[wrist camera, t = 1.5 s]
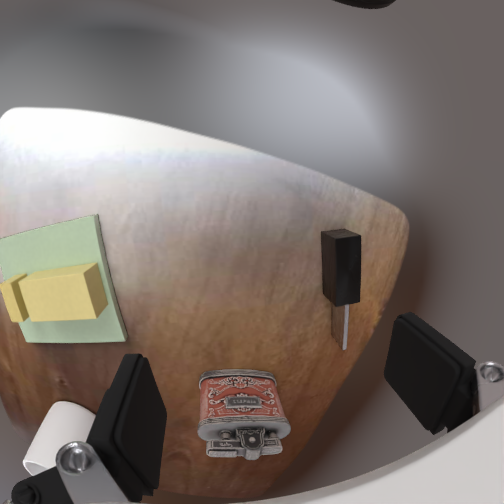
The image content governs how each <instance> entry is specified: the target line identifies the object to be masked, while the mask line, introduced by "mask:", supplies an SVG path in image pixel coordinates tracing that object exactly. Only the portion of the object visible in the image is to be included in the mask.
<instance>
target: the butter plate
mask: <svg viewBox="0 0 504 504" xmlns="http://www.w3.org/2000/svg"><path fill="white" fill-rule="evenodd" d="M96 262H97V263H98V268H99V272H100V276H101V280H102V283H103V287H104V291H105V294H106V298H107V301H108V305H107V306H106V308H105V309H104V310H103V311H102V313H101V314H100V315H99V317H98V318H97V319H86V320H68V321H43V322H32V321H31V319H30V317H29V318H28V319H26V320H25V321H24V322H19V325H20V327H21V330H22V332H23V335H24V337H25V339H26V342H36V343H95V342H120V341H126V339H127V337H128V335H127V332H126V329H125V326H124V323H123V320H122V316H121V313H120V310H119V306H118V303H117V299H116V296H115V292H114V288H113V285H112V281H111V277H110V273H109V269H108V264H107V260H106V255H105V251H104V246H103V241H102V236H101V230H100V225H99V219H98V214H97V215H92V216H87V217H83V218H78V219H74V220H70V221H65V222H61V223H57V224H53V225H49V226H45V227H41V228H37V229H33V230H29V231H26V232H22V233H18V234H15V235H11V236H8V237H4V238H1V239H0V266H1V270H2V274H3V277H4V281H6V280H8V279H9V278H11V277H13V276H14V275H19V274H25V273H26V274H27V276H29V275H30V274H32V273H34V272H37V271H44V270H50V269H57V268H63V267H70V266H76V265H83V264H89V263H96Z"/></svg>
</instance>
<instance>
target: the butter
mask: <svg viewBox="0 0 504 504" xmlns="http://www.w3.org/2000/svg"><path fill="white" fill-rule="evenodd" d="M18 283H19V286H20V290H21V293H22V296H23V299H24V302H25V305H26V308H27V311H28V314H29V316H30V319H31V321H32V322H43V321H68V320H86V319H97V318H98V317H99V315H100V314H101V313H102V311H103V310H104V309H105V308H106V306H107V305H108V301H107V298H106V294H105V291H104V287H103V283H102V280H101V276H100V272H99V268H98V263H97V262H96V263H89V264H83V265H76V266H70V267H63V268H57V269H50V270H44V271H37V272H34V273H32V274H30V275H29V276H27V277H25V278H24V279H22V280H20V281H19V282H18Z"/></svg>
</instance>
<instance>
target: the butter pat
mask: <svg viewBox="0 0 504 504" xmlns="http://www.w3.org/2000/svg"><path fill="white" fill-rule="evenodd" d="M25 277H27V274H26V273H25V274H19V275H14V276H13V277H11V278H9V279H8V280H6V281H4V282H3V283H1V284H0V289H1V292H2V295H3V298H4V301H5V304H6V307H7V310H8V312H9V315H10V318H11V320H12V322H24V321H25V320H26V319H28V318H29V317H30V316H29V314H28V311H27V308H26V305H25V302H24V299H23V296H22V293H21V290H20V286H19V283H18V282H19V281H20V280H22V279H24V278H25Z"/></svg>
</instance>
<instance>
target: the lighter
mask: <svg viewBox="0 0 504 504" xmlns="http://www.w3.org/2000/svg"><path fill="white" fill-rule="evenodd" d="M199 387H200V389H201V396H200V422H199V424H198V435H199V437H200V438H201V439H203V440H206V441H207V442H206V452H207V454H208V455H209V456H210V457H236V456H243V457H245V458H246V459H248V460H256V459H258V458H259V456H260V455H267V454H277V453H280V452H281V451H282V445H281V442H280V439H282V438H284V437H285V436H287V435H288V434H289V432H290V430H291V427H290V424H289V421H288V420H287V419H286V418H285V415H284V412H283V409H282V405H281V402H280V399H279V396H278V393H277V389H276V380H275V377H274V375H273V374H272V373H269V372H264V371H256V370H242V369H233V370H217V371H208V372H204V373H203V374H202V375H201V376H200V379H199Z"/></svg>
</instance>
